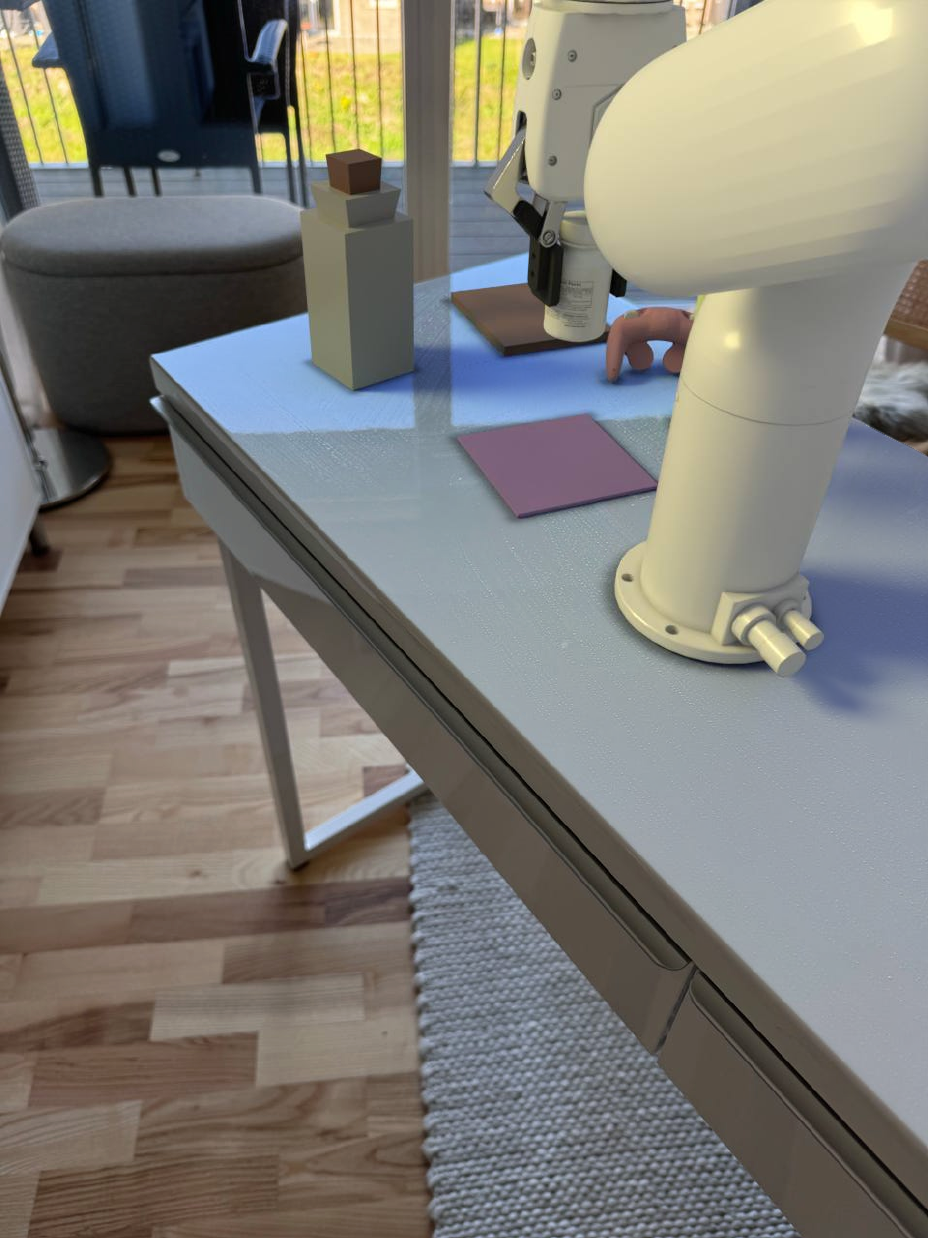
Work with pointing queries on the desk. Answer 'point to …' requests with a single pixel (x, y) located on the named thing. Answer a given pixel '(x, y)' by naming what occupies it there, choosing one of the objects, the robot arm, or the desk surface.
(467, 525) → the desk surface
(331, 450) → the desk surface
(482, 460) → the purple square plate
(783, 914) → the desk surface
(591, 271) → the pill bottle
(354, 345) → the perfume bottle
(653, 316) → the video game controller
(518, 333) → the board
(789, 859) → the desk surface
